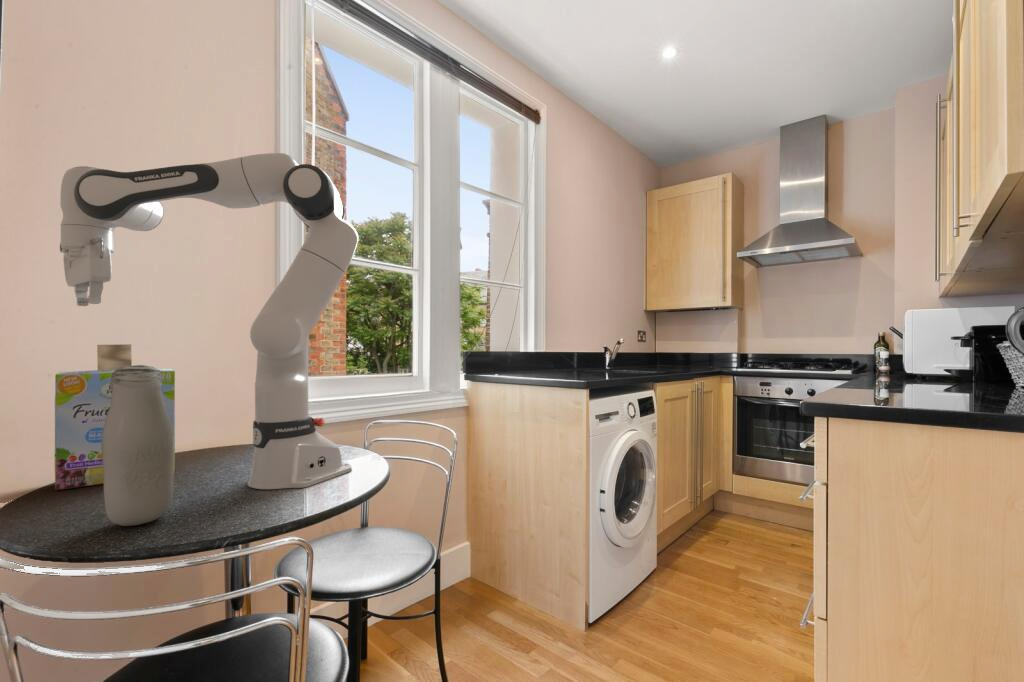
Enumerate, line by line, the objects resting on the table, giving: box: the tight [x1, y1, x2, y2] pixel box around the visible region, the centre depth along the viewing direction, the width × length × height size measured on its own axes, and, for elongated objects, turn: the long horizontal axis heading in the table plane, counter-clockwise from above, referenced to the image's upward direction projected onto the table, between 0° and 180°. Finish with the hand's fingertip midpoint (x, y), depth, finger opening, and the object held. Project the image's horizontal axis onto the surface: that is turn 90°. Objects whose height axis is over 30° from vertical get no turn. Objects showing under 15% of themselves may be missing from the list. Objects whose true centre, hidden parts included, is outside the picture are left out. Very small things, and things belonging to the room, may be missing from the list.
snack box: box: [54, 368, 176, 491], centre depth 112 cm, size 22×9×26 cm, turn 129°
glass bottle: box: [101, 364, 174, 527], centre depth 84 cm, size 10×10×28 cm
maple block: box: [96, 343, 133, 371], centre depth 112 cm, size 5×5×6 cm
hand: (88, 304), depth 105 cm, fingers open, 8 cm apart
